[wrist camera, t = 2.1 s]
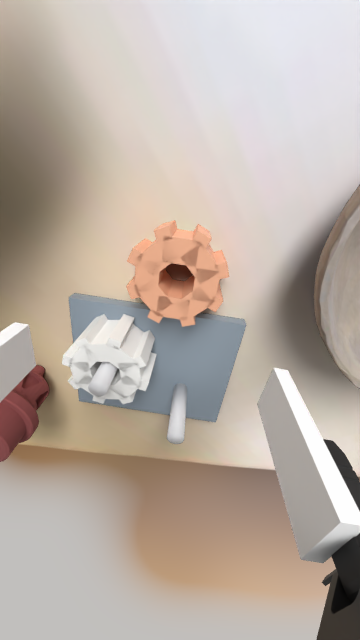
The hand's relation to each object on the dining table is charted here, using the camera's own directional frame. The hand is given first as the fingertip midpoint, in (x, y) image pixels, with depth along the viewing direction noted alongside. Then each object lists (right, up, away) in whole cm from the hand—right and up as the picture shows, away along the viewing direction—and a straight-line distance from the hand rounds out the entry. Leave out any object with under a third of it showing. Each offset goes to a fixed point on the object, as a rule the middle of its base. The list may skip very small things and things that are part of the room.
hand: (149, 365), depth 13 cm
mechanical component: (-22, -7, +25) cm, 34 cm away
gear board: (-2, -4, +21) cm, 22 cm away
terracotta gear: (+2, +9, +14) cm, 17 cm away
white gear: (-6, -1, +18) cm, 20 cm away
